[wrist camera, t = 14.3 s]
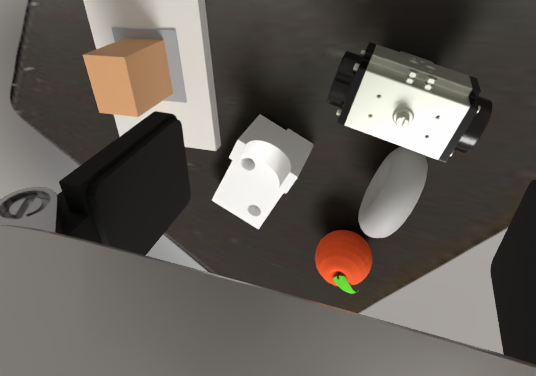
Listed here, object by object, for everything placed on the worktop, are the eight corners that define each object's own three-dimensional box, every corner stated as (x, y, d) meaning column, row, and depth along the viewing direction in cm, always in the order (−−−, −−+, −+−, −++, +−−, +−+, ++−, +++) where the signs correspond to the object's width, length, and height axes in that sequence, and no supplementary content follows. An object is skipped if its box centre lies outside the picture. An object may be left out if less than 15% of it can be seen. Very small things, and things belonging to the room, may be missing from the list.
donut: (385, 205, 47) (377, 263, 39) (359, 192, 47) (345, 247, 39) (434, 138, 41) (436, 190, 33) (404, 123, 41) (398, 172, 33)
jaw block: (126, 37, 44) (82, 54, 38) (163, 39, 42) (124, 57, 37) (137, 90, 47) (99, 112, 42) (173, 93, 46) (138, 117, 40)
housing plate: (84, -36, 43) (49, -31, 39) (200, -38, 39) (175, -33, 35) (126, 133, 54) (103, 149, 50) (221, 145, 50) (203, 164, 46)
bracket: (262, 110, 46) (237, 139, 40) (314, 143, 46) (297, 176, 40) (222, 185, 54) (197, 218, 48) (267, 213, 54) (247, 249, 48)
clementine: (388, 259, 51) (383, 300, 45) (341, 270, 55) (331, 310, 49) (359, 211, 48) (350, 249, 43) (311, 227, 52) (297, 264, 47)
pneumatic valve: (456, 114, 39) (464, 177, 29) (342, 74, 40) (316, 122, 31) (487, 60, 35) (509, 111, 26) (363, 19, 37) (340, 53, 27)
